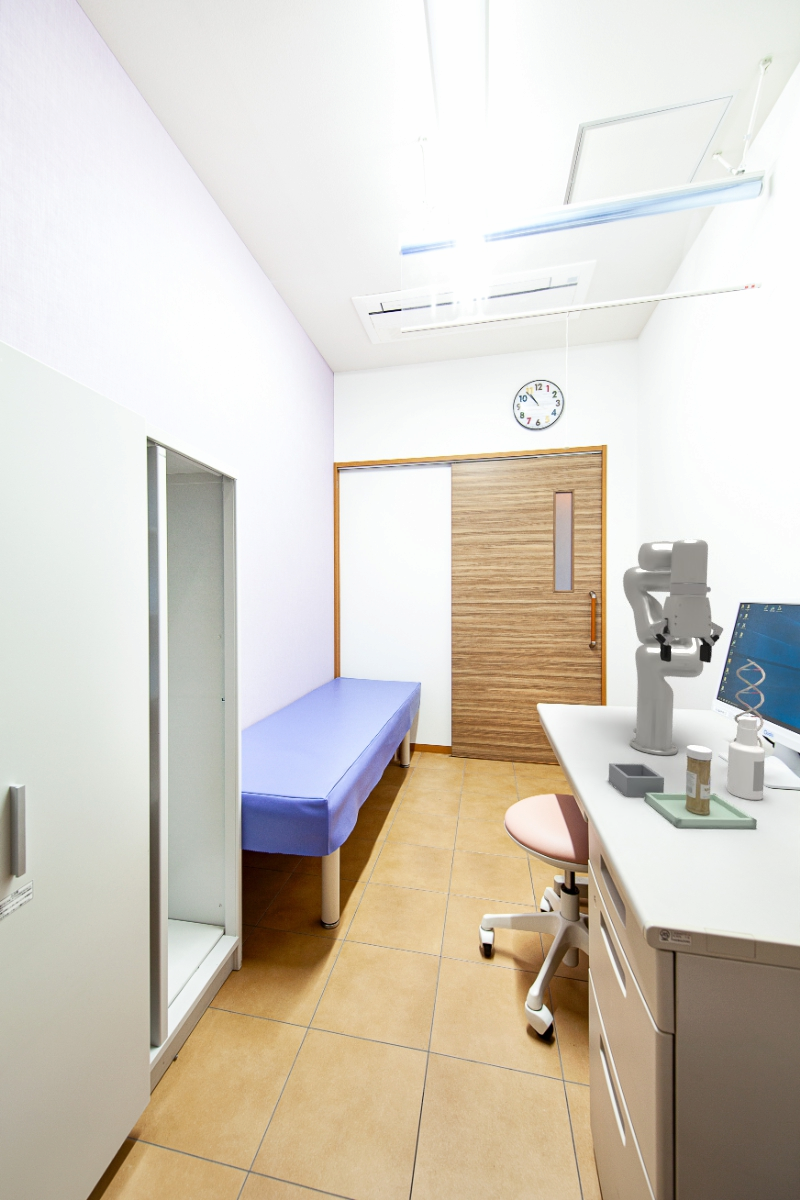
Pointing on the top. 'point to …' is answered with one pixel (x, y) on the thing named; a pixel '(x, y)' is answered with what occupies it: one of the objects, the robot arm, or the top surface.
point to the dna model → (752, 693)
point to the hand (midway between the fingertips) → (685, 661)
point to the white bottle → (746, 762)
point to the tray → (678, 815)
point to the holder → (635, 779)
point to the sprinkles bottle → (698, 779)
